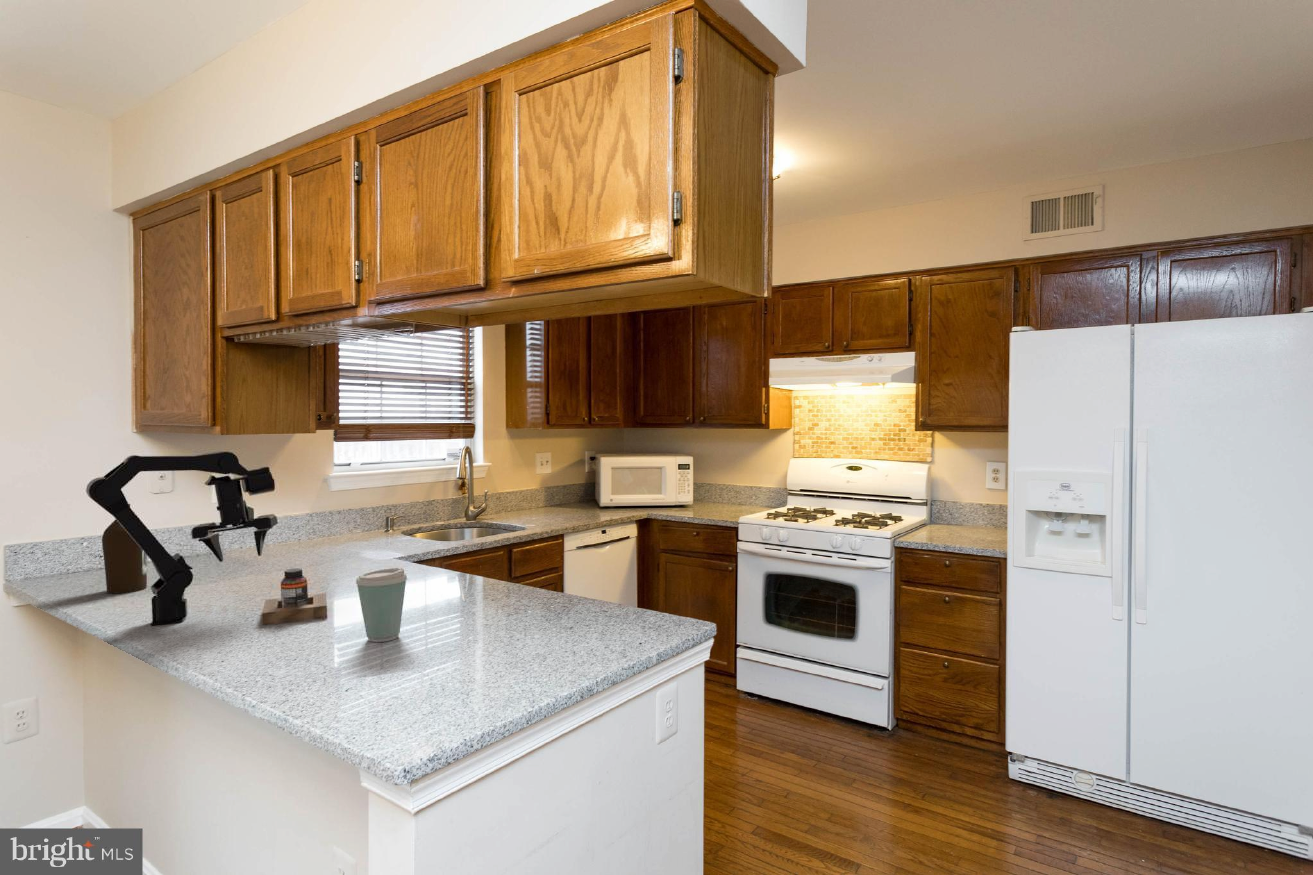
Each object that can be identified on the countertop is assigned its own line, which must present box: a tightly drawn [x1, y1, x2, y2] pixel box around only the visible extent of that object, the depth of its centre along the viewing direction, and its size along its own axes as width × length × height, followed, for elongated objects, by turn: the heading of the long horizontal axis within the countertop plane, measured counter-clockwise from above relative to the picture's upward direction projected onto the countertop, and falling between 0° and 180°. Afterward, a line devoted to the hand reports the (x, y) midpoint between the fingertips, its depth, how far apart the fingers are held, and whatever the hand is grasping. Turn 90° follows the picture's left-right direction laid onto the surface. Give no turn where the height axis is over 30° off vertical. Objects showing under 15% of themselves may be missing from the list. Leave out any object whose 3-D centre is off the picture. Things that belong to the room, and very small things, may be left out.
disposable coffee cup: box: [355, 567, 408, 643], centre depth 160 cm, size 11×11×15 cm
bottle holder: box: [261, 592, 328, 626], centre depth 181 cm, size 14×14×3 cm
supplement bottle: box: [280, 567, 309, 608], centre depth 180 cm, size 6×6×11 cm
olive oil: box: [101, 503, 148, 595], centre depth 210 cm, size 11×11×25 cm
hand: (240, 558), depth 187 cm, fingers open, 9 cm apart
